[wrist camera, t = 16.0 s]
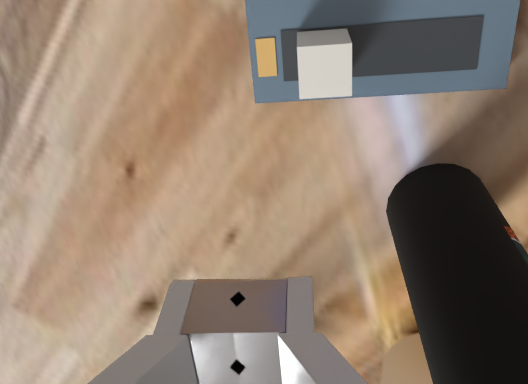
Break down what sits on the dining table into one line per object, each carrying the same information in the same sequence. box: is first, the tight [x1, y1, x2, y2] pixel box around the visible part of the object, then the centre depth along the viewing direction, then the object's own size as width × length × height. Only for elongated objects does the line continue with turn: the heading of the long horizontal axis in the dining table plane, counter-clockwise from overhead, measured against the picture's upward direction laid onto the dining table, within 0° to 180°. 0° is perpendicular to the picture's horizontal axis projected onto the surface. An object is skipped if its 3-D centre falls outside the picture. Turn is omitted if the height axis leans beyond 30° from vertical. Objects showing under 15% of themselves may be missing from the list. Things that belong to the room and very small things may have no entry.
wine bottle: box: [386, 164, 528, 384], centre depth 26 cm, size 8×8×30 cm
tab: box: [297, 28, 352, 99], centre depth 30 cm, size 3×3×4 cm
